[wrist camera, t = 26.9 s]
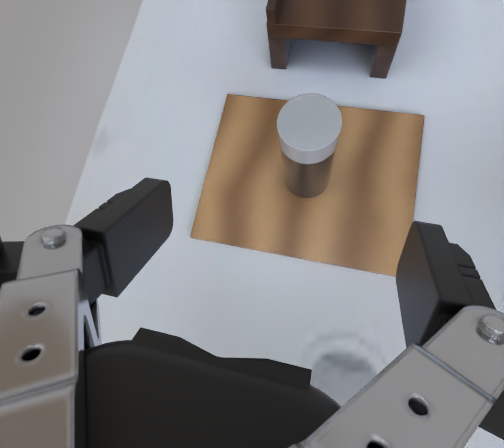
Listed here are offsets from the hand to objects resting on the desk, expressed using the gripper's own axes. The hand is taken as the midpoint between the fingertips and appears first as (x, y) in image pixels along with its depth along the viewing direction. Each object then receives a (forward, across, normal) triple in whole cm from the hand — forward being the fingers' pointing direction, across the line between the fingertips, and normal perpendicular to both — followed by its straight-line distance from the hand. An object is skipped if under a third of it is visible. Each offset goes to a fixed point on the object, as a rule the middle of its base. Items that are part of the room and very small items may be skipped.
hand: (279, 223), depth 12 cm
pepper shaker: (+22, +1, +7) cm, 23 cm away
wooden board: (+22, +1, +8) cm, 23 cm away
